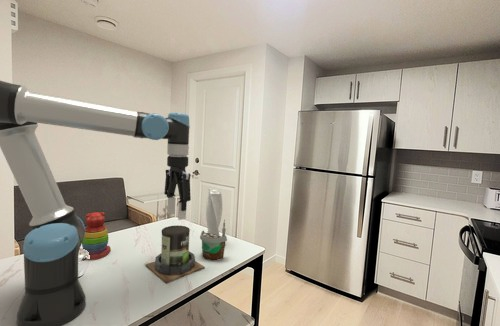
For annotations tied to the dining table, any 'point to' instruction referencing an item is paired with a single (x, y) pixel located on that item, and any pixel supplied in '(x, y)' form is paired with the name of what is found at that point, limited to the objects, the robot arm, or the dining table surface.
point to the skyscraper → (214, 212)
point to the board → (173, 277)
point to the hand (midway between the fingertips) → (176, 216)
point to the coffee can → (175, 245)
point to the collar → (176, 268)
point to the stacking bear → (96, 236)
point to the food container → (212, 246)
